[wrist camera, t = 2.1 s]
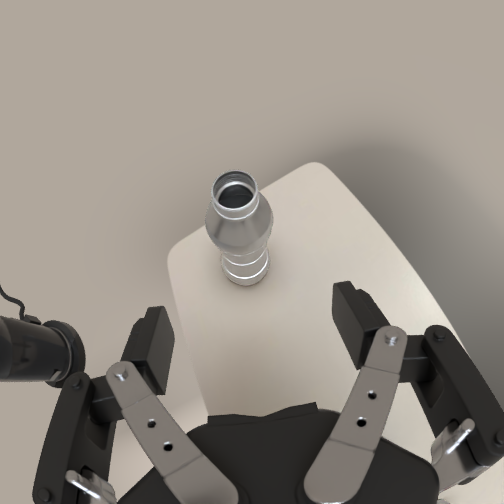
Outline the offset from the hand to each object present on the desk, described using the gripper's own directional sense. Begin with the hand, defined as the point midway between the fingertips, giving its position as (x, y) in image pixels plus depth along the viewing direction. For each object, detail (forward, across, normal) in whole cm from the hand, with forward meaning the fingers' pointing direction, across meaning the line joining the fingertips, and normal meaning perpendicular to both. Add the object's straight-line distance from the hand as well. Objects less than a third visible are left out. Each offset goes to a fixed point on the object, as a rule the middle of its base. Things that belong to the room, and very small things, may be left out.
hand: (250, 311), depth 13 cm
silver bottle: (+25, 0, +11) cm, 27 cm away
